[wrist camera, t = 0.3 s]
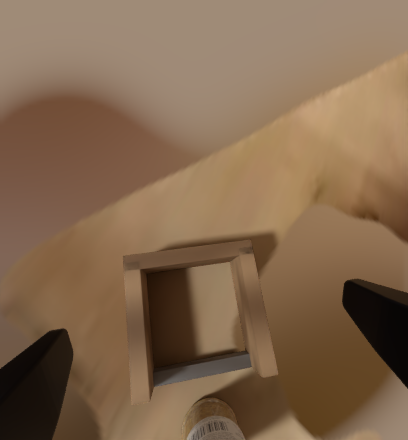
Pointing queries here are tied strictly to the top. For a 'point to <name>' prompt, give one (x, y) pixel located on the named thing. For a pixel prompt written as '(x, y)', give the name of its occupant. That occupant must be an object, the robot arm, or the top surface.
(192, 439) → the sprinkles bottle
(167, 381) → the cradle
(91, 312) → the top surface
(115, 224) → the top surface
